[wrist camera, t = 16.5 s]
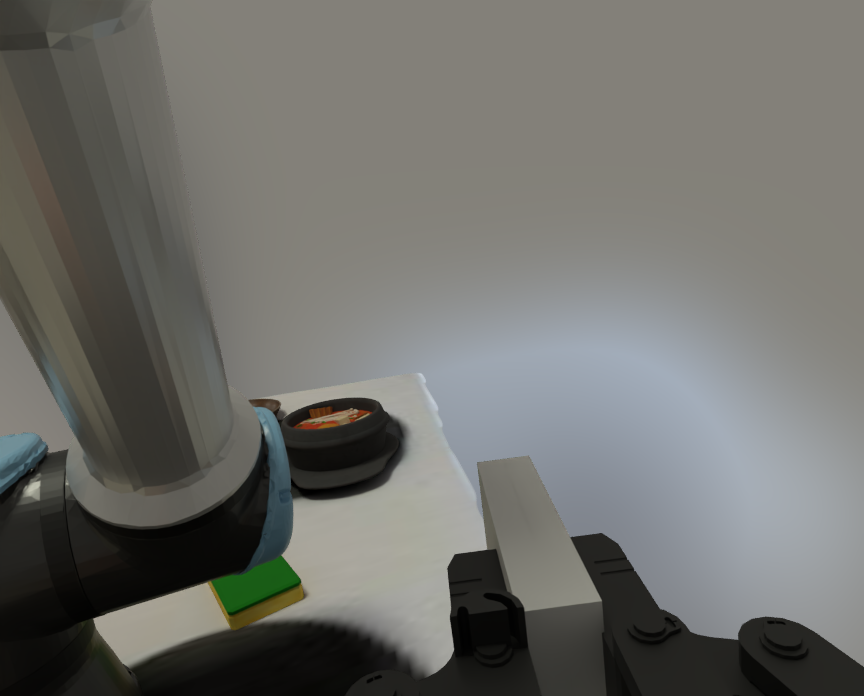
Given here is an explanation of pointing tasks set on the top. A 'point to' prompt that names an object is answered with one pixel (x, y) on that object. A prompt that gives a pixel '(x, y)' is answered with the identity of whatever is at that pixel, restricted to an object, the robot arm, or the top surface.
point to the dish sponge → (257, 592)
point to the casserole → (337, 442)
